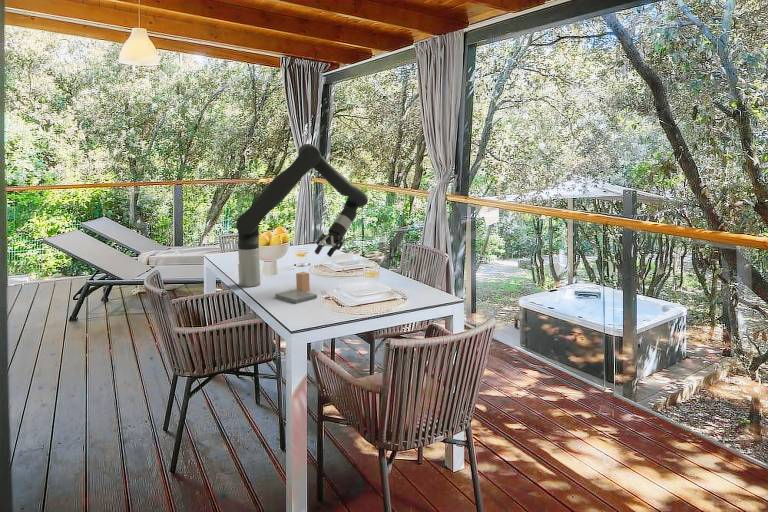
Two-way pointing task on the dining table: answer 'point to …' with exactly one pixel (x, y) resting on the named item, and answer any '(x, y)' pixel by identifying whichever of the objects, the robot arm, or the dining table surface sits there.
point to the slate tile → (296, 296)
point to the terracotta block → (302, 281)
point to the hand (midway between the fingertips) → (322, 254)
